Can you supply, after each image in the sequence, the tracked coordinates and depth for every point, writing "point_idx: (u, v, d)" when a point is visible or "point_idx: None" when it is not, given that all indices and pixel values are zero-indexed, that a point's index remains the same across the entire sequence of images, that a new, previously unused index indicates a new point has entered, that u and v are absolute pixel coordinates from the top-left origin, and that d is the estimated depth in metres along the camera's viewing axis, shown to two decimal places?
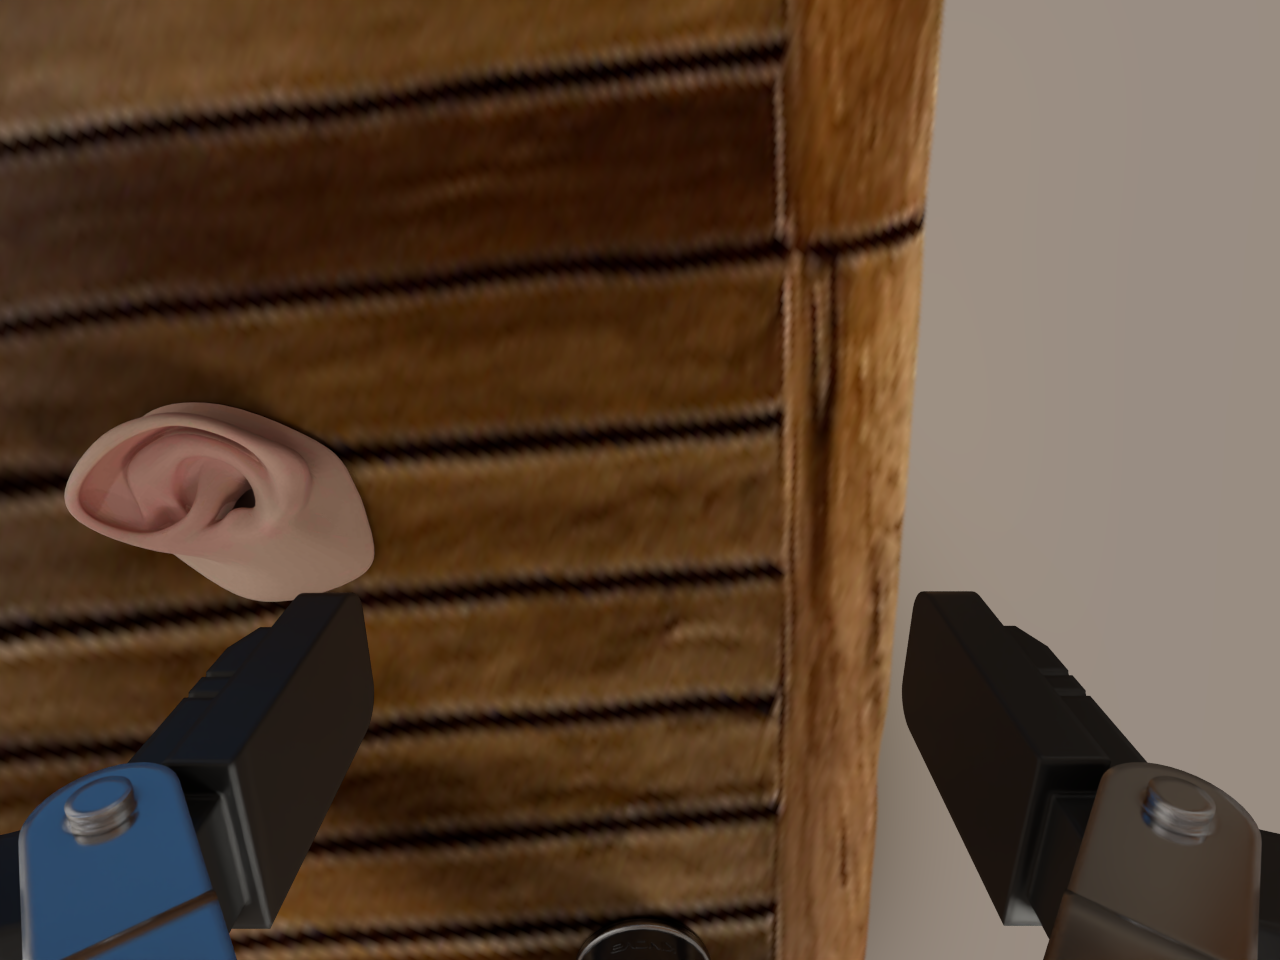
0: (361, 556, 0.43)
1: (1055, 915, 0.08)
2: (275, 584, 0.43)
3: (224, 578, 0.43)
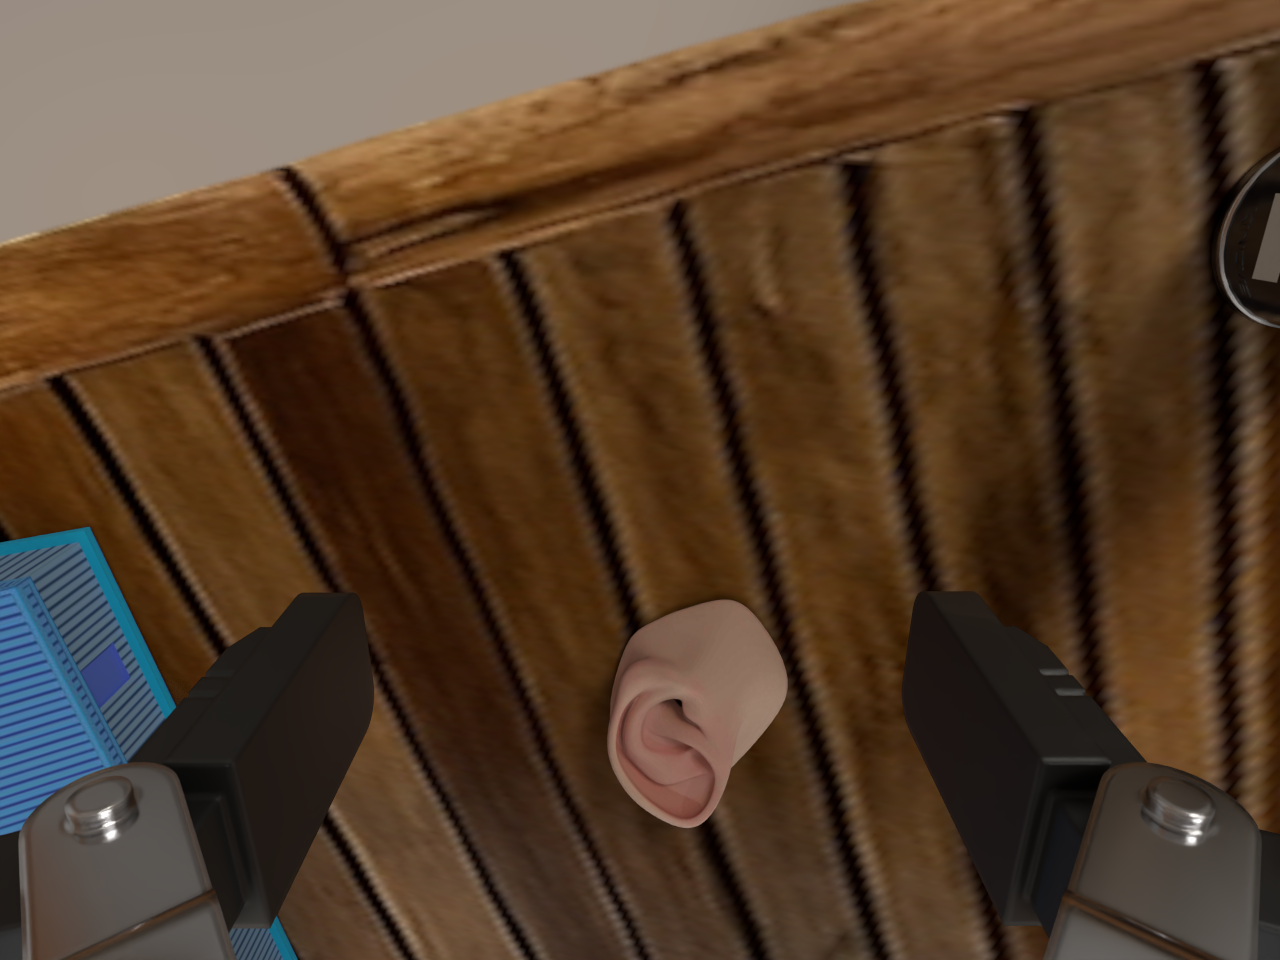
0: (724, 611, 0.47)
1: (1055, 915, 0.08)
2: (761, 677, 0.48)
3: (763, 713, 0.49)
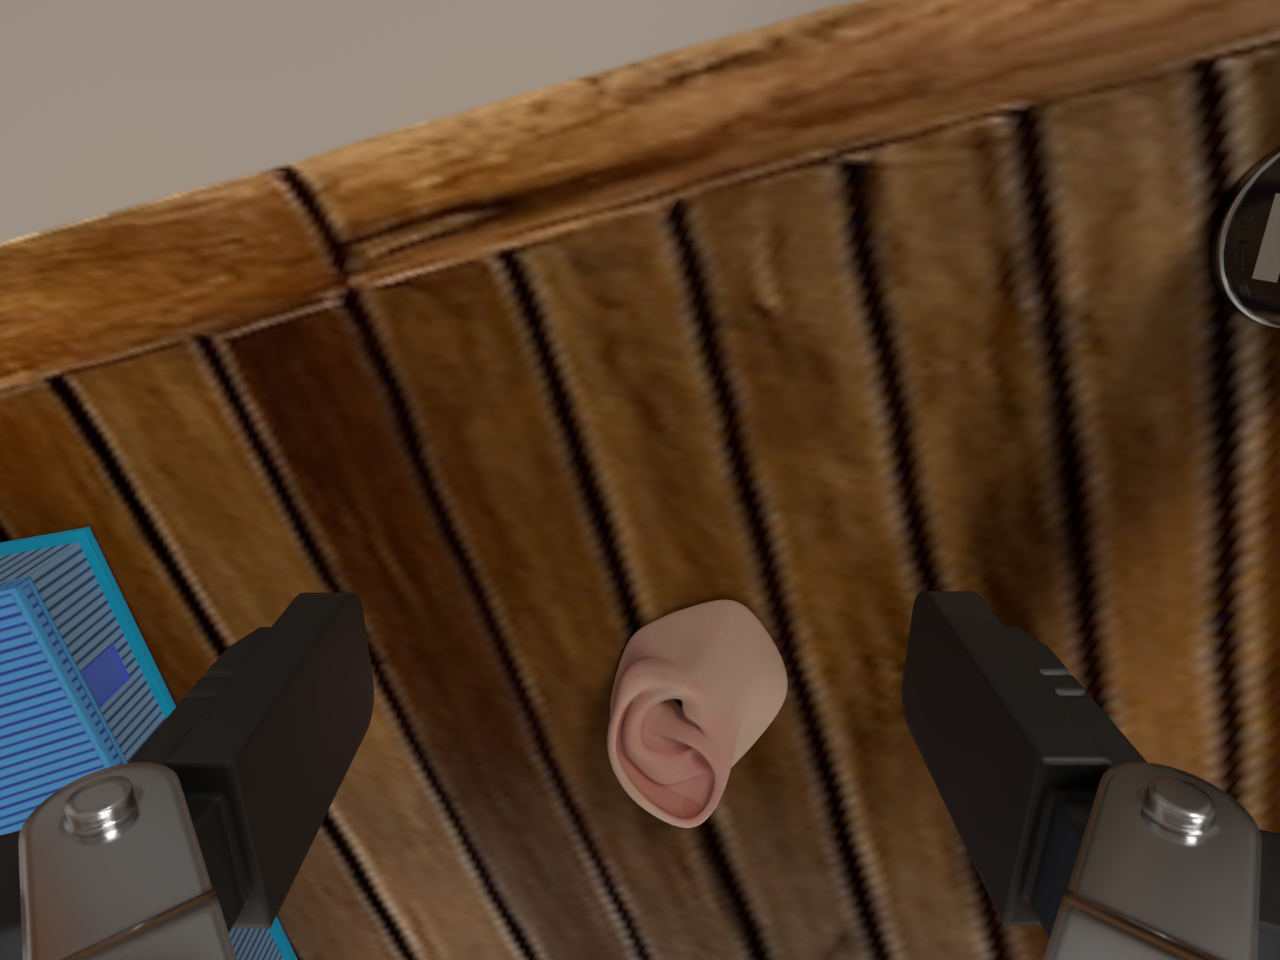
0: (724, 611, 0.47)
1: (1055, 915, 0.08)
2: (761, 677, 0.48)
3: (763, 713, 0.49)
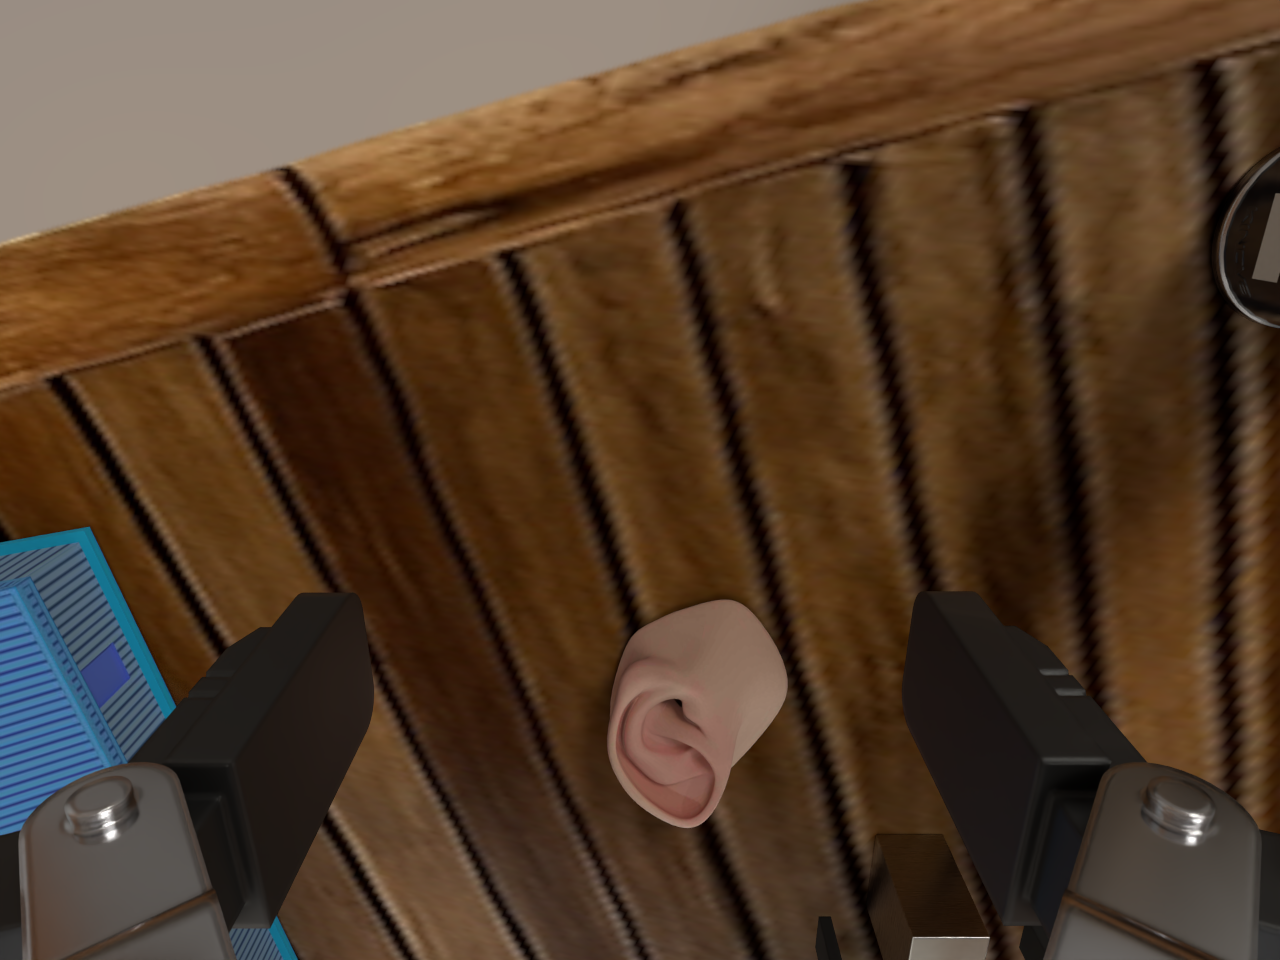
0: (724, 611, 0.47)
1: (1055, 915, 0.08)
2: (761, 677, 0.48)
3: (763, 713, 0.49)
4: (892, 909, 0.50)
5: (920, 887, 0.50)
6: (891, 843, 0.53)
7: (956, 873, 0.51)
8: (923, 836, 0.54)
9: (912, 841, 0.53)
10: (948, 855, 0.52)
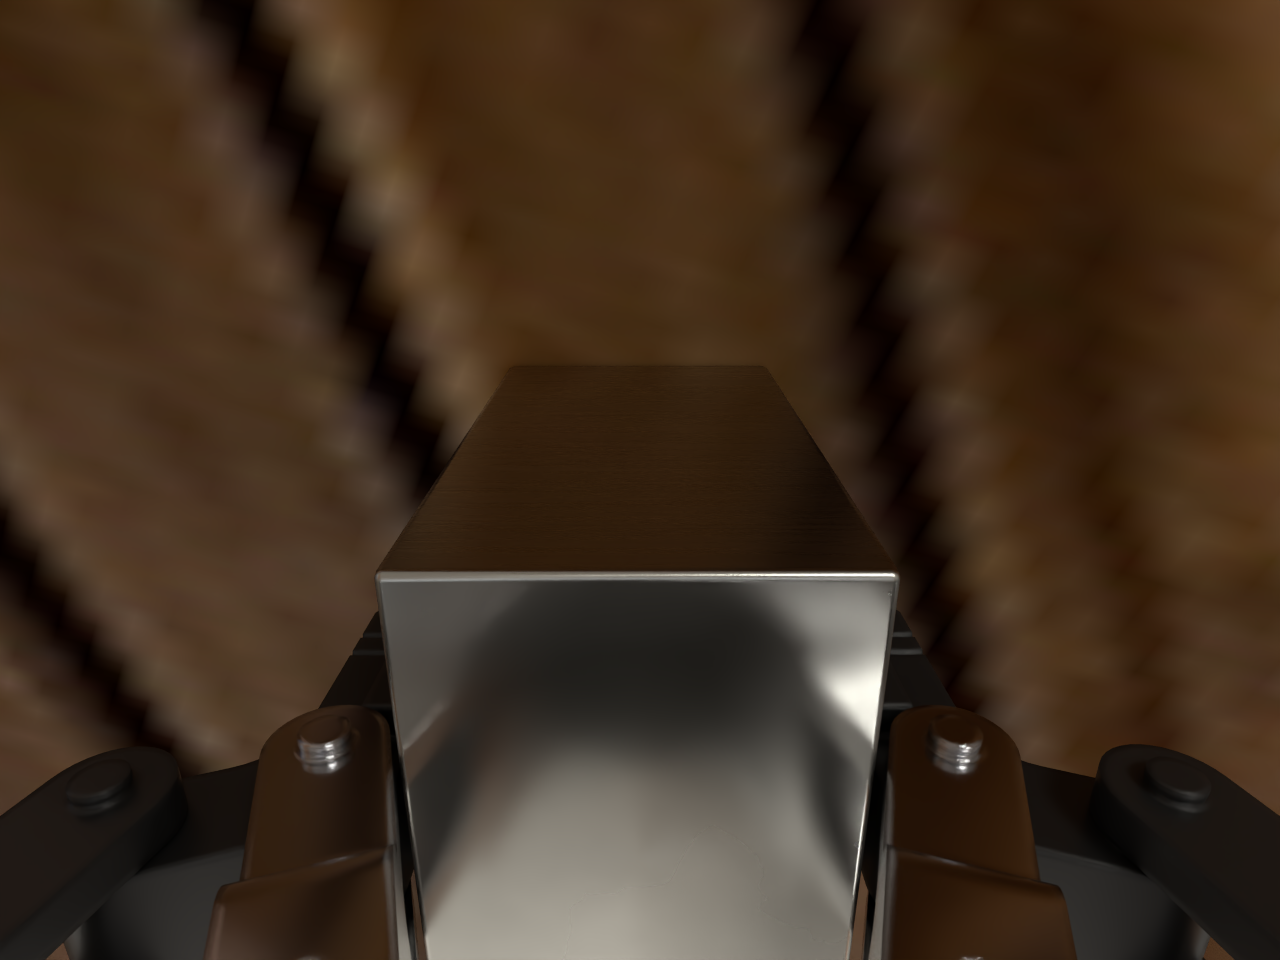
0: None
1: (865, 861, 0.08)
2: None
3: None
4: None
5: (582, 443, 0.10)
6: (552, 376, 0.13)
7: (782, 418, 0.11)
8: (689, 368, 0.14)
9: (638, 373, 0.14)
10: (766, 391, 0.12)
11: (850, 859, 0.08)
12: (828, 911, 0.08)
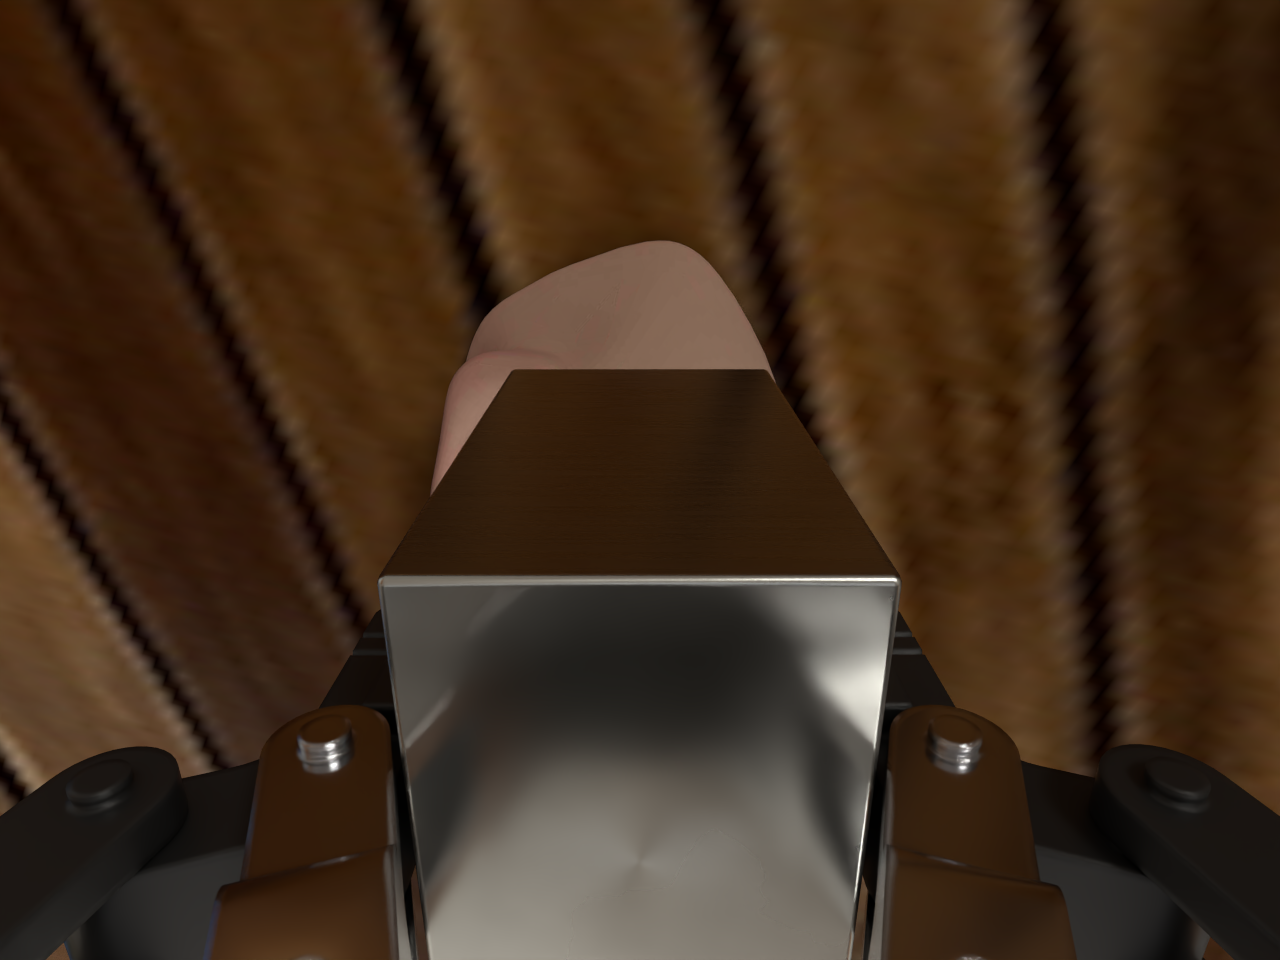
0: (660, 260, 0.23)
1: (865, 862, 0.08)
2: None
3: None
4: None
5: (584, 446, 0.10)
6: (554, 378, 0.13)
7: (783, 422, 0.11)
8: (690, 370, 0.14)
9: (639, 376, 0.14)
10: (767, 394, 0.12)
11: (851, 862, 0.08)
12: (829, 914, 0.08)
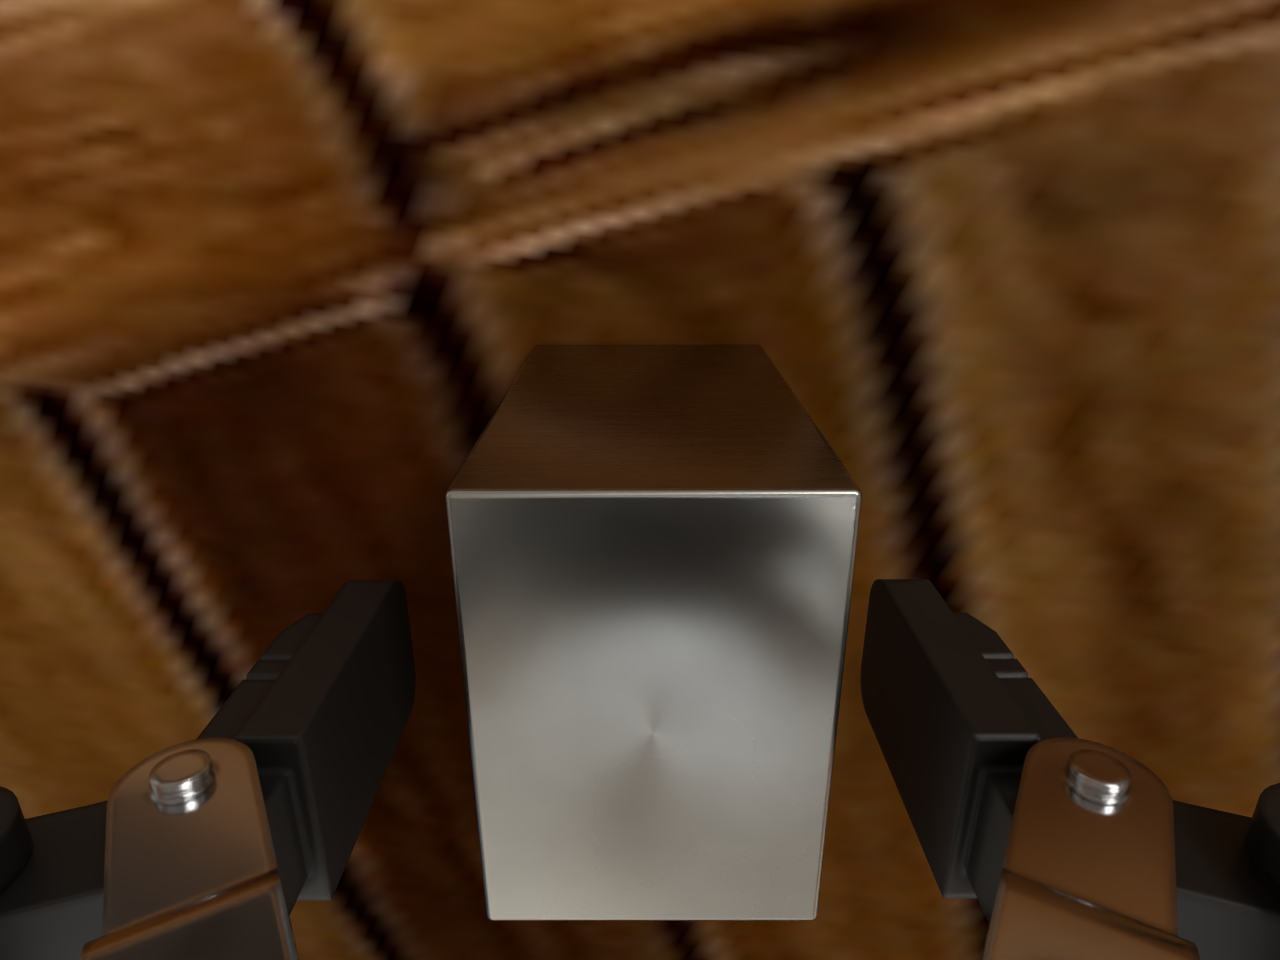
0: None
1: (988, 891, 0.08)
2: None
3: None
4: None
5: (603, 403, 0.12)
6: (572, 353, 0.15)
7: (772, 385, 0.13)
8: (692, 346, 0.16)
9: (648, 350, 0.15)
10: (760, 364, 0.14)
11: (826, 733, 0.10)
12: (808, 779, 0.10)
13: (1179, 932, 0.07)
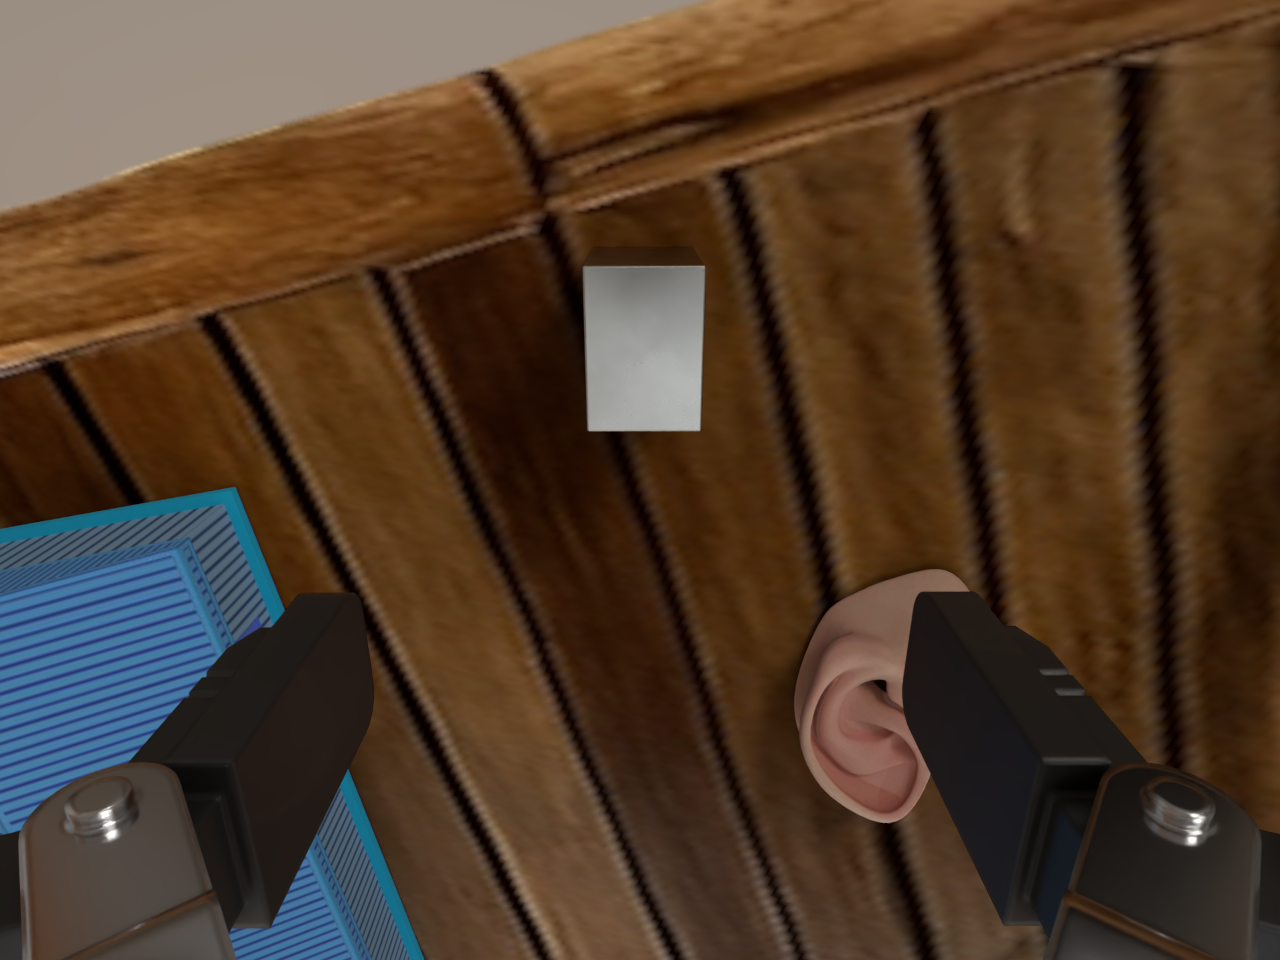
0: (936, 582, 0.42)
1: (1055, 915, 0.08)
2: None
3: None
4: None
5: (626, 256, 0.33)
6: (611, 248, 0.36)
7: (691, 253, 0.34)
8: (662, 247, 0.36)
9: (643, 247, 0.36)
10: (689, 250, 0.35)
11: (699, 351, 0.30)
12: (695, 370, 0.31)
13: None
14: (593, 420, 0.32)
